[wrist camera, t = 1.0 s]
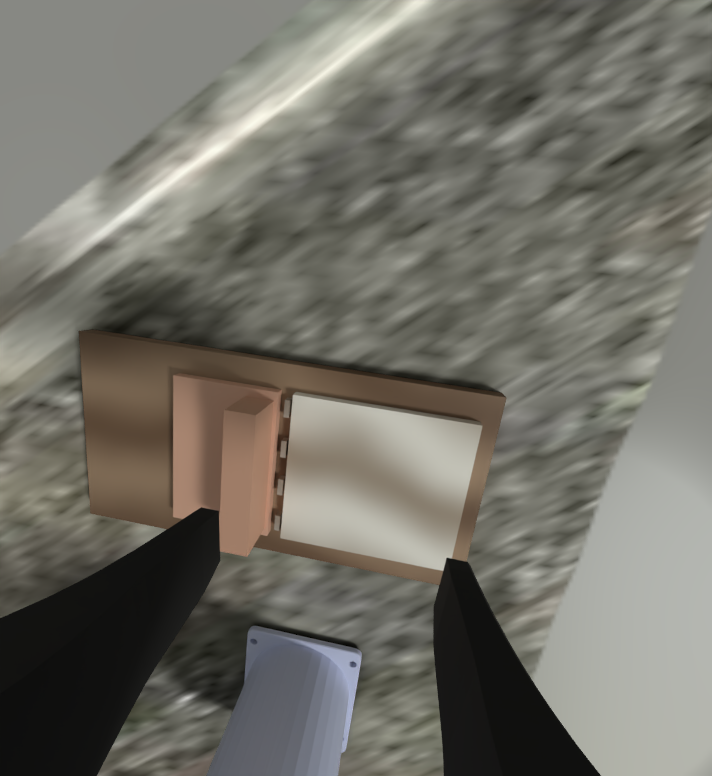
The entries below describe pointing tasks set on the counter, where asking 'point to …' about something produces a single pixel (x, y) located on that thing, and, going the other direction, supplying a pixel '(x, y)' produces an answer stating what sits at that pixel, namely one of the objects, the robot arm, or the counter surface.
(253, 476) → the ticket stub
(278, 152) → the counter surface
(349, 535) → the board
